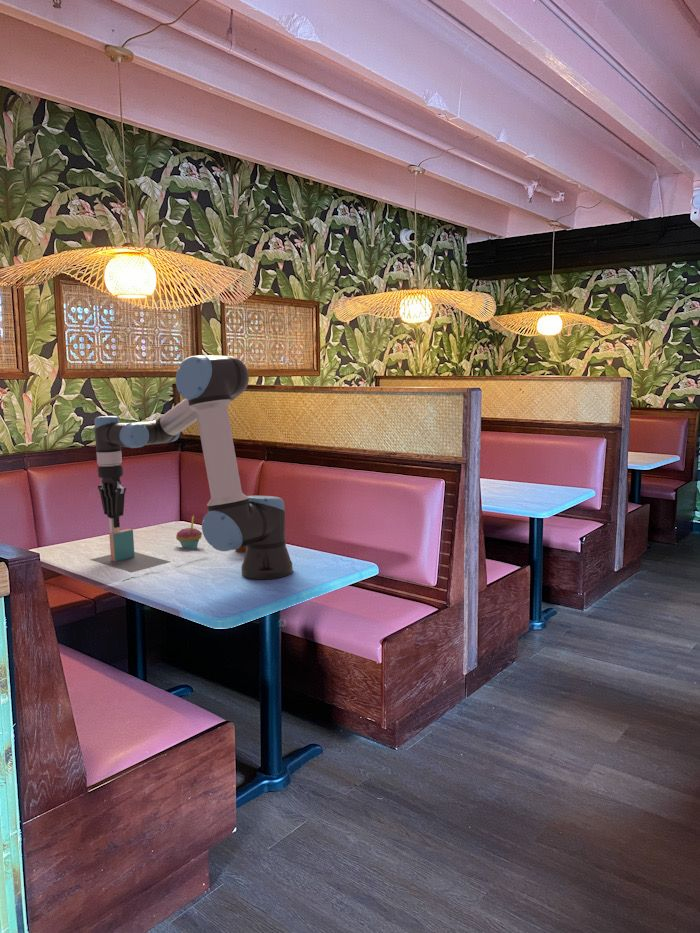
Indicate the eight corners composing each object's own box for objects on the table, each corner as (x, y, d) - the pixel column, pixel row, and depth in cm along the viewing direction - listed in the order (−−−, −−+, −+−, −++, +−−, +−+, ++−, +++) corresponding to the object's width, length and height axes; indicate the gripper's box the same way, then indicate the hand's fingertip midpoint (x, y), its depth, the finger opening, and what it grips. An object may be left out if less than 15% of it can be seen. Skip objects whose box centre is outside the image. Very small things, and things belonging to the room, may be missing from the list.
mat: (171, 564, 216) (171, 561, 216) (131, 575, 205) (131, 572, 205) (128, 553, 231) (128, 550, 231) (89, 562, 220) (89, 559, 220)
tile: (135, 556, 222) (133, 529, 221) (115, 561, 217) (113, 533, 216) (130, 555, 224) (128, 528, 223) (111, 560, 219) (109, 532, 217)
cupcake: (204, 545, 240) (203, 511, 238) (199, 551, 231) (197, 516, 230) (180, 545, 240) (178, 511, 238) (173, 552, 231) (171, 517, 230)
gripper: (131, 464, 217) (136, 537, 221) (109, 462, 226) (114, 532, 229) (110, 467, 212) (115, 542, 215) (88, 464, 220) (94, 536, 223)
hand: (115, 536), depth 222 cm, fingers closed
